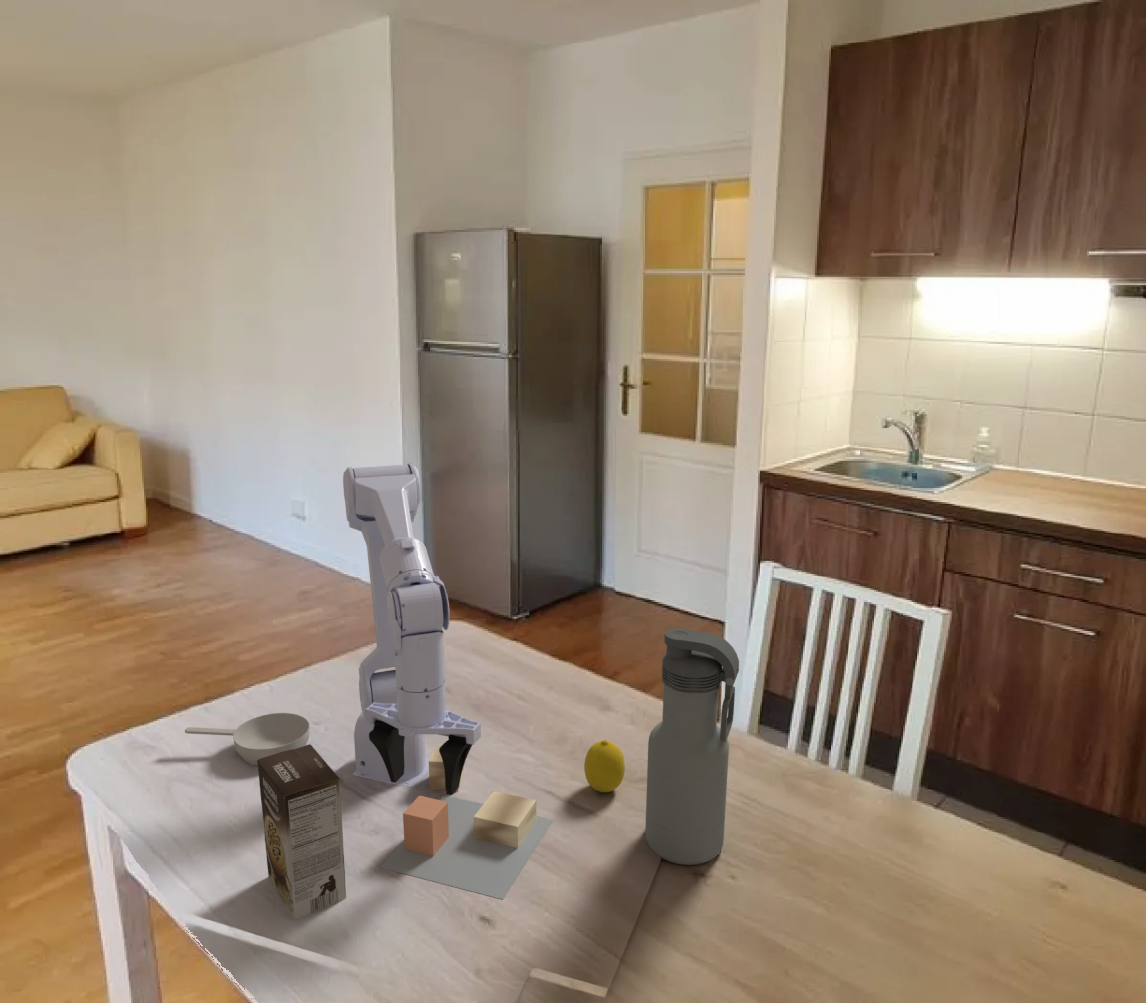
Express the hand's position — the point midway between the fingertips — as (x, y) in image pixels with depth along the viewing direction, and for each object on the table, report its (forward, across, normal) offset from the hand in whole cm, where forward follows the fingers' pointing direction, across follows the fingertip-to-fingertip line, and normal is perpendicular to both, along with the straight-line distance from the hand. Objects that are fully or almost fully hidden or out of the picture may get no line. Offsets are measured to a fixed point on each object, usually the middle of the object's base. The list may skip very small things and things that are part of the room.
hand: (424, 784), depth 107 cm
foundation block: (+8, +8, +6) cm, 13 cm away
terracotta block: (+8, 0, 0) cm, 8 cm away
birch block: (+9, -4, +13) cm, 16 cm away
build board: (+9, +5, +2) cm, 10 cm away
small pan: (+9, -36, +11) cm, 39 cm away
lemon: (+9, +17, +19) cm, 27 cm away
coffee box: (+9, -9, -12) cm, 18 cm away
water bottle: (+9, +30, +12) cm, 34 cm away
